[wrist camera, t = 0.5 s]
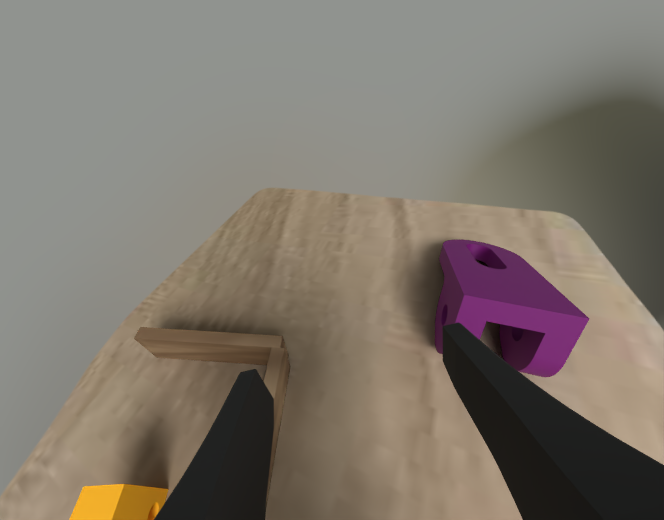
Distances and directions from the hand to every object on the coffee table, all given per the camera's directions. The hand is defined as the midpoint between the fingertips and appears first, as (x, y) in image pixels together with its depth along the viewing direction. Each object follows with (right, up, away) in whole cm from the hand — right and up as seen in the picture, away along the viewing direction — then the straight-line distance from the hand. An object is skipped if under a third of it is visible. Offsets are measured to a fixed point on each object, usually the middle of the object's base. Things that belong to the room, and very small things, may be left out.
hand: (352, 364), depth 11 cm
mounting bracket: (+17, -1, +24) cm, 29 cm away
